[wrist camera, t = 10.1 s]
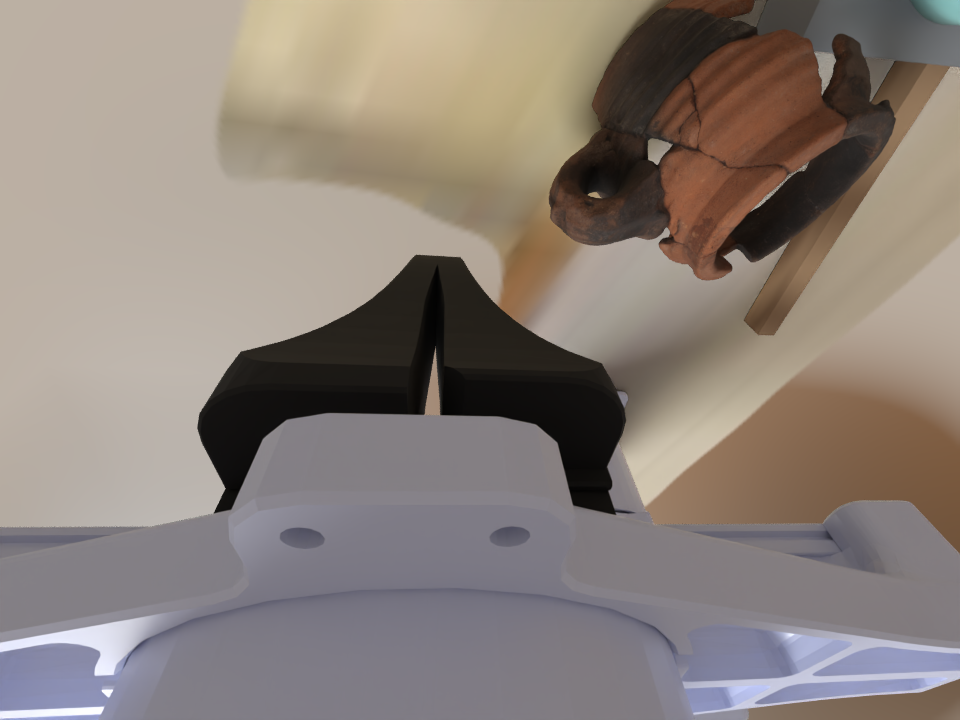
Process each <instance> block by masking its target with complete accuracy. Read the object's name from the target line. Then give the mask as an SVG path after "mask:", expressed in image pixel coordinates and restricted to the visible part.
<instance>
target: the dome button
mask: <svg viewBox="0 0 960 720" xmlns="http://www.w3.org/2000/svg"><path fill="white" fill-rule="evenodd" d="M910 1H911V3H912V5H913V6H914V8H915V9H916V10H917V12H918V13H919V14H921V15H922V16H923V17H924V18H925V19H927V20H929V21H931V22H933V23H938V24H942V25H960V0H910Z"/></svg>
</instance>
